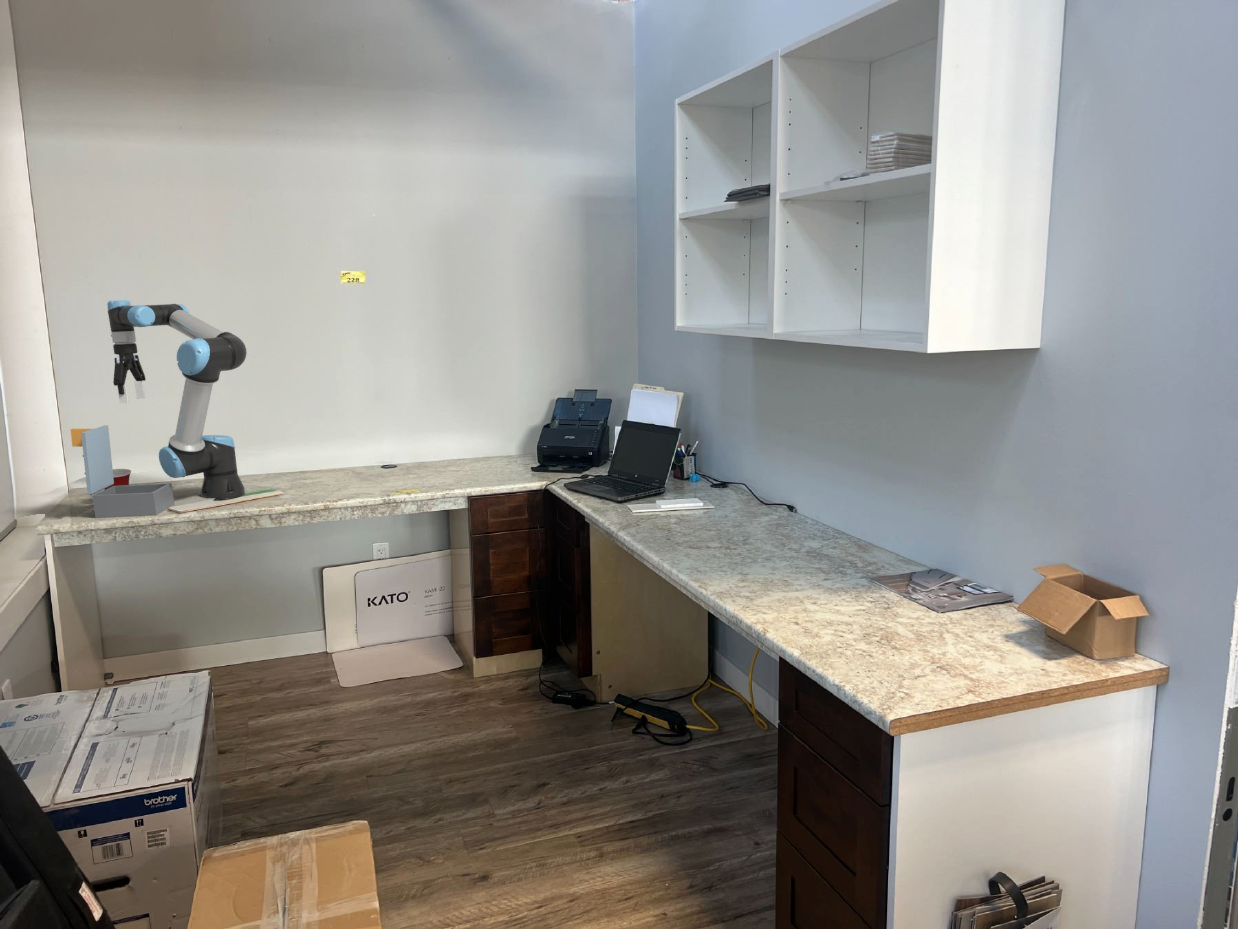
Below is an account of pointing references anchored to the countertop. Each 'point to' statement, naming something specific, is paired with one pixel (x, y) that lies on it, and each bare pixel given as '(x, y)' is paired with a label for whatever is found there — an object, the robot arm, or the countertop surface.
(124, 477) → the plastic cup
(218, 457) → the robot arm
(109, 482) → the lid
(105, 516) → the tub
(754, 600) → the countertop surface
